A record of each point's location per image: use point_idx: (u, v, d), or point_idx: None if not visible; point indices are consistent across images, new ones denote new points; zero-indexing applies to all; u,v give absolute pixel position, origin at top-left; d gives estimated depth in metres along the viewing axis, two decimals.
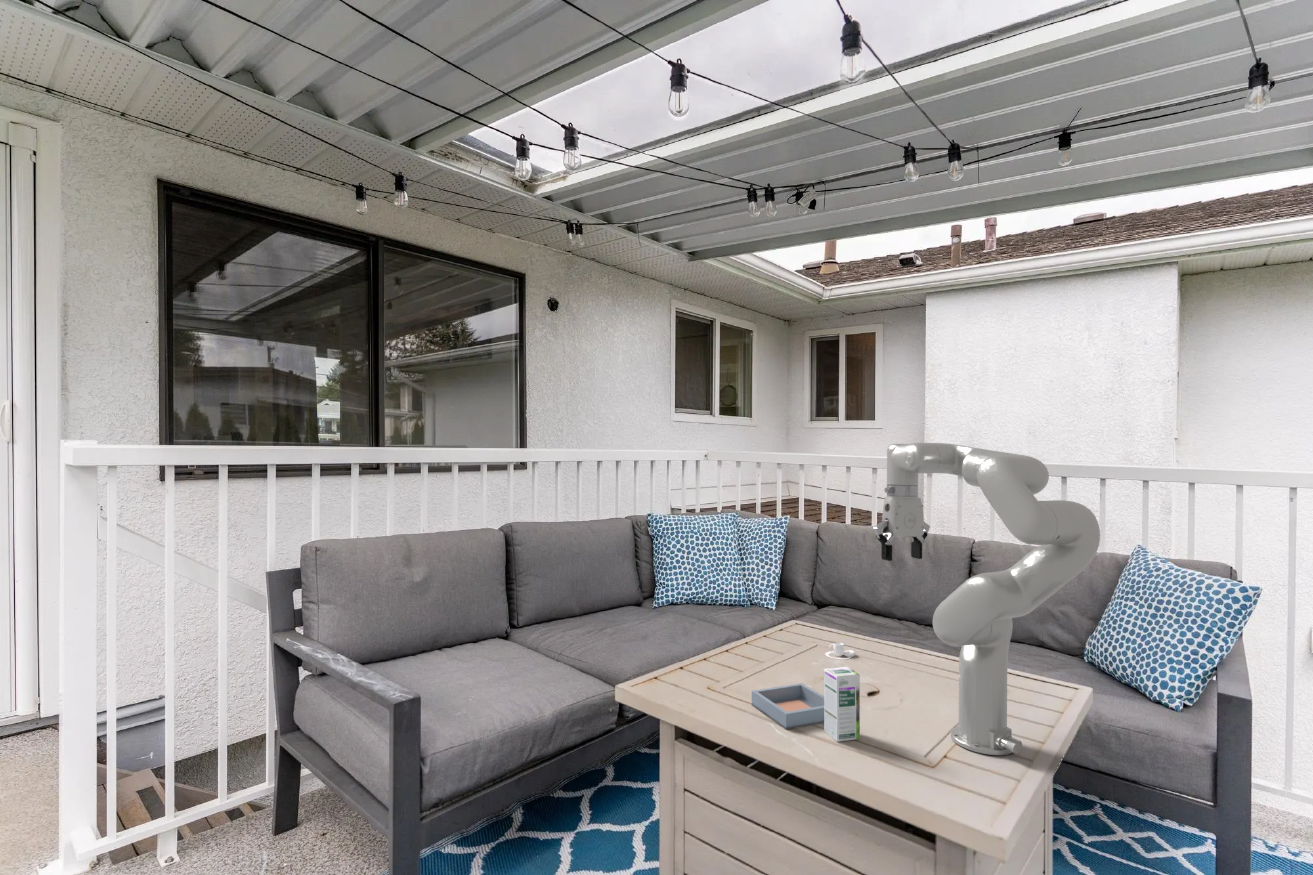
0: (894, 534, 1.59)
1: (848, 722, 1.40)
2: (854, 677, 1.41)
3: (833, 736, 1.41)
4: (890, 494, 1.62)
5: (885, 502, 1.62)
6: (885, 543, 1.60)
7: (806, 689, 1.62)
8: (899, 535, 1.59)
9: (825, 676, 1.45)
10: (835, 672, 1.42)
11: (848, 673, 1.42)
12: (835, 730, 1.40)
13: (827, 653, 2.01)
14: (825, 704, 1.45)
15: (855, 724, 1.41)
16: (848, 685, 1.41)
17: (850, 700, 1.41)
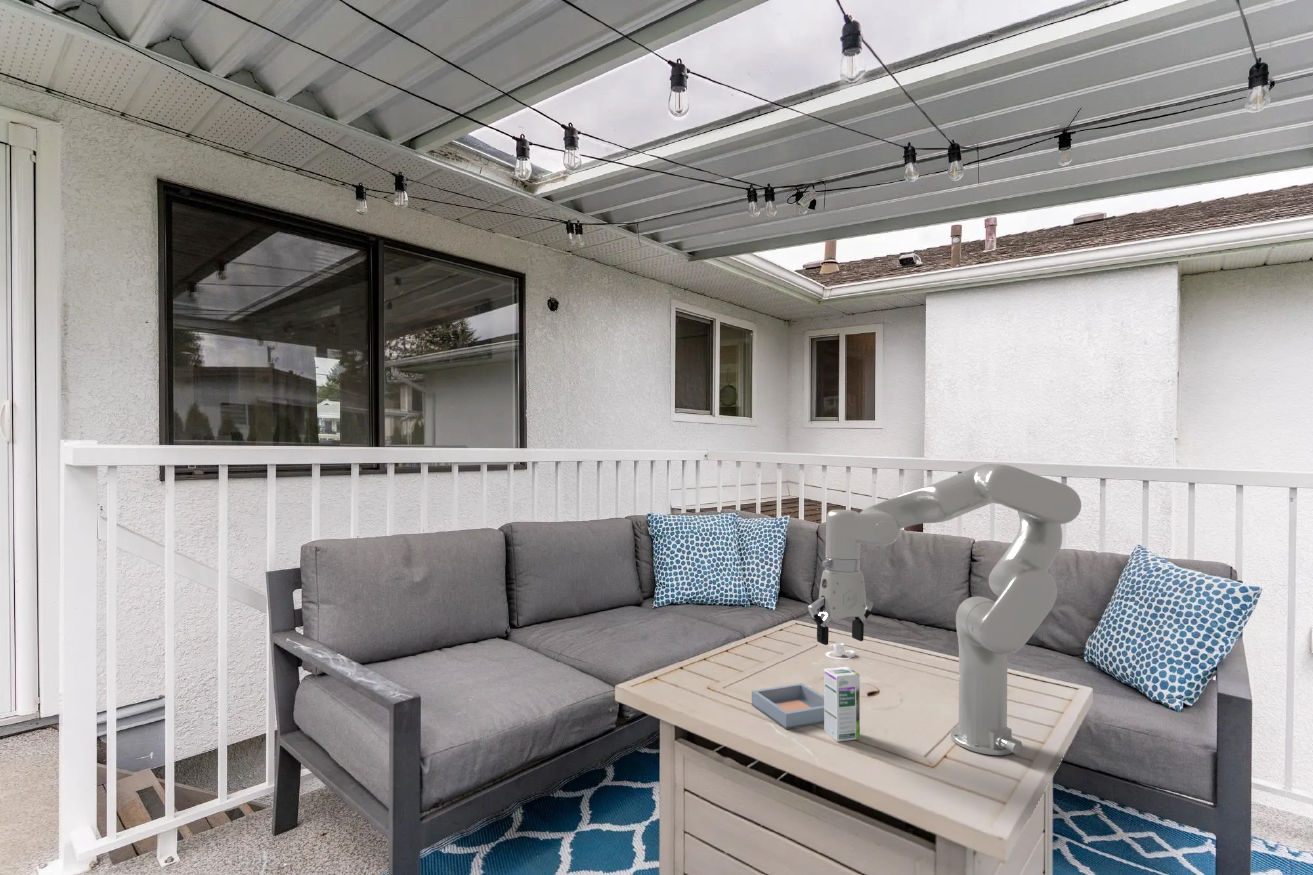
0: (831, 615, 1.40)
1: (848, 722, 1.40)
2: (854, 677, 1.41)
3: (833, 736, 1.41)
4: (828, 568, 1.42)
5: (822, 577, 1.43)
6: (821, 625, 1.40)
7: (806, 689, 1.62)
8: (836, 616, 1.40)
9: (825, 676, 1.45)
10: (835, 672, 1.42)
11: (848, 673, 1.42)
12: (835, 730, 1.40)
13: (827, 653, 2.01)
14: (825, 704, 1.45)
15: (855, 724, 1.41)
16: (848, 685, 1.41)
17: (849, 700, 1.41)
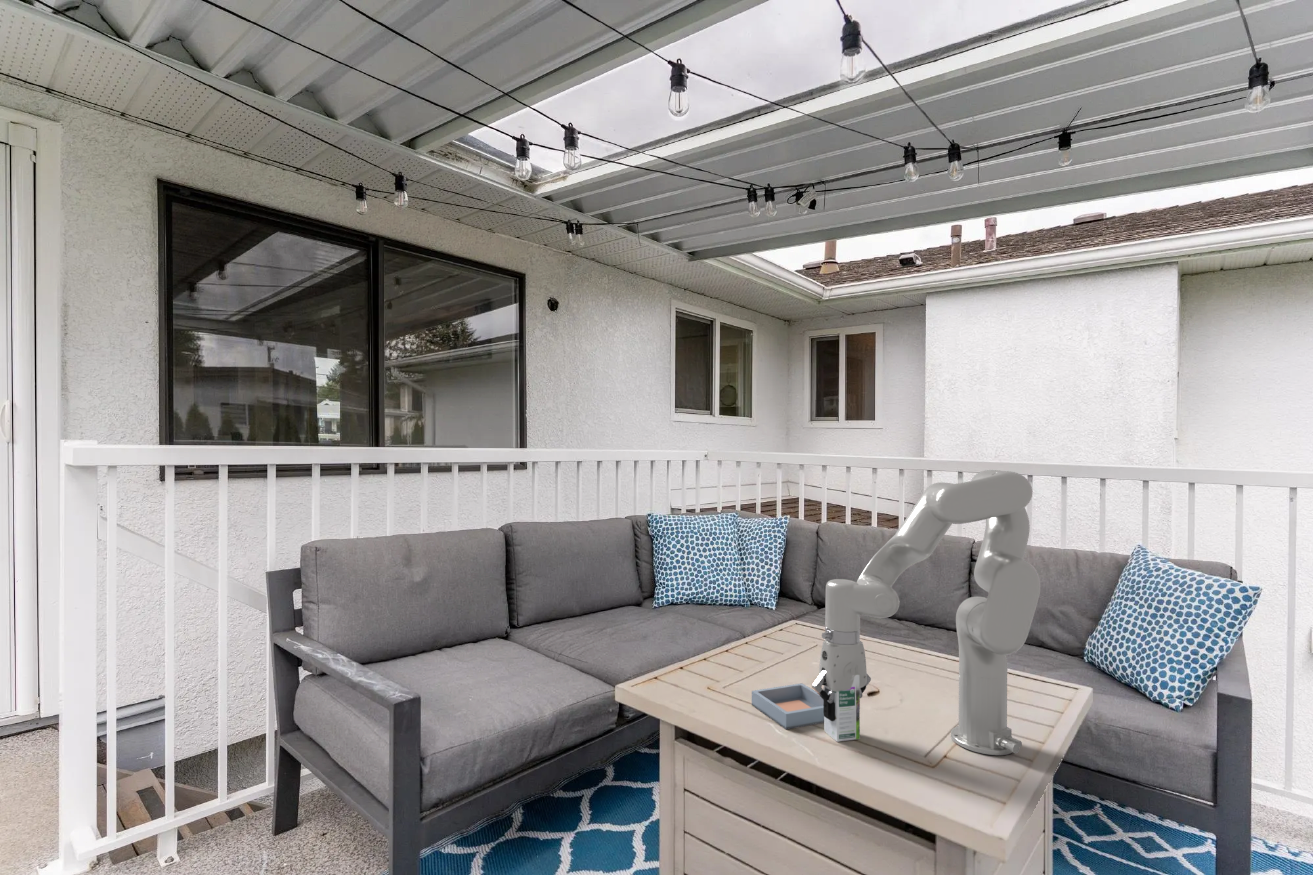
0: (832, 688, 1.39)
1: (848, 722, 1.40)
2: (854, 677, 1.41)
3: (833, 736, 1.41)
4: (828, 640, 1.42)
5: (823, 648, 1.43)
6: (827, 701, 1.41)
7: (806, 689, 1.62)
8: (837, 689, 1.39)
9: None
10: None
11: None
12: (835, 730, 1.40)
13: None
14: None
15: (855, 724, 1.41)
16: None
17: (849, 700, 1.41)
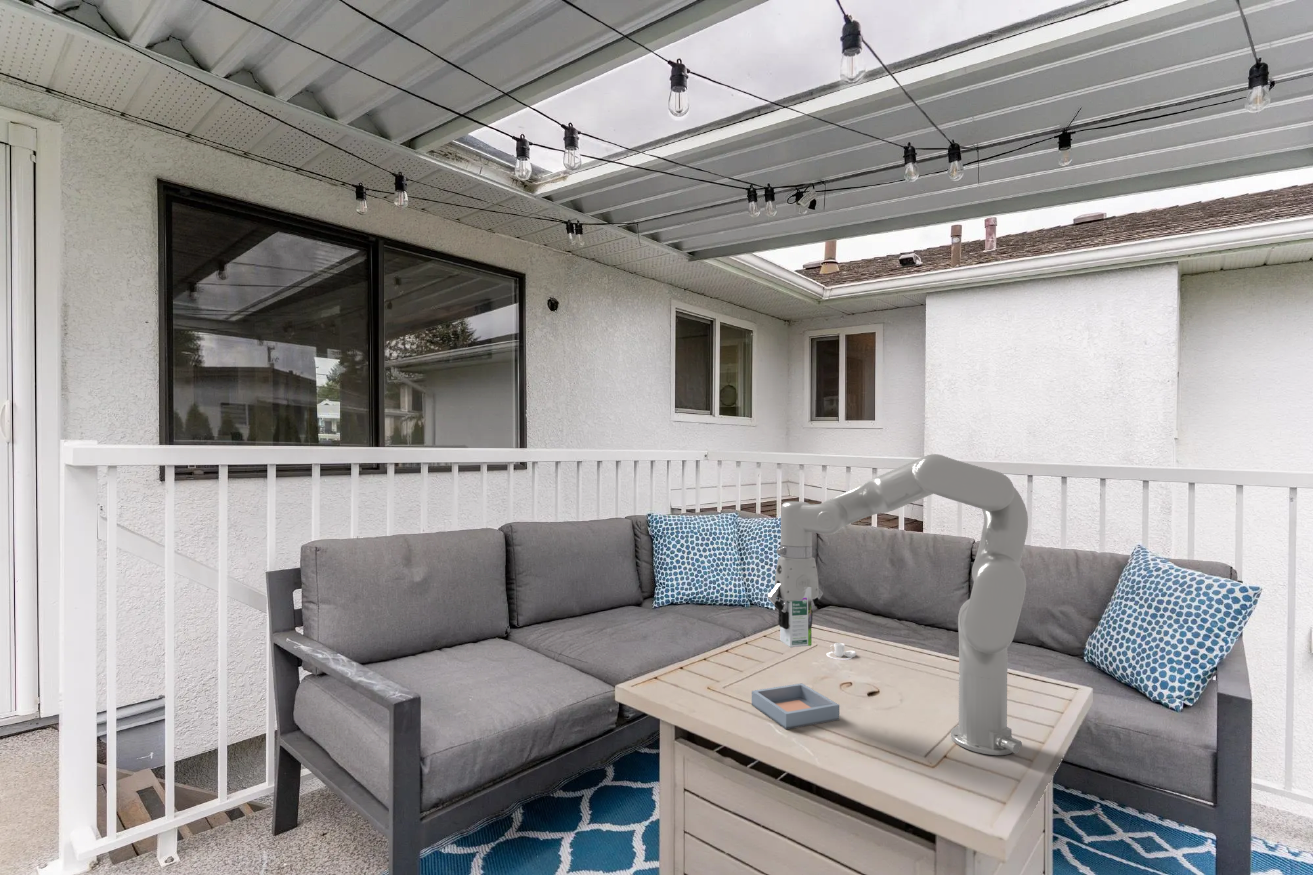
0: (785, 598, 1.52)
1: (801, 630, 1.53)
2: None
3: (787, 643, 1.54)
4: (783, 555, 1.55)
5: (778, 563, 1.55)
6: (782, 611, 1.53)
7: (806, 689, 1.62)
8: (790, 599, 1.52)
9: None
10: None
11: None
12: (789, 637, 1.53)
13: (828, 653, 2.01)
14: None
15: (807, 632, 1.53)
16: None
17: (802, 610, 1.53)
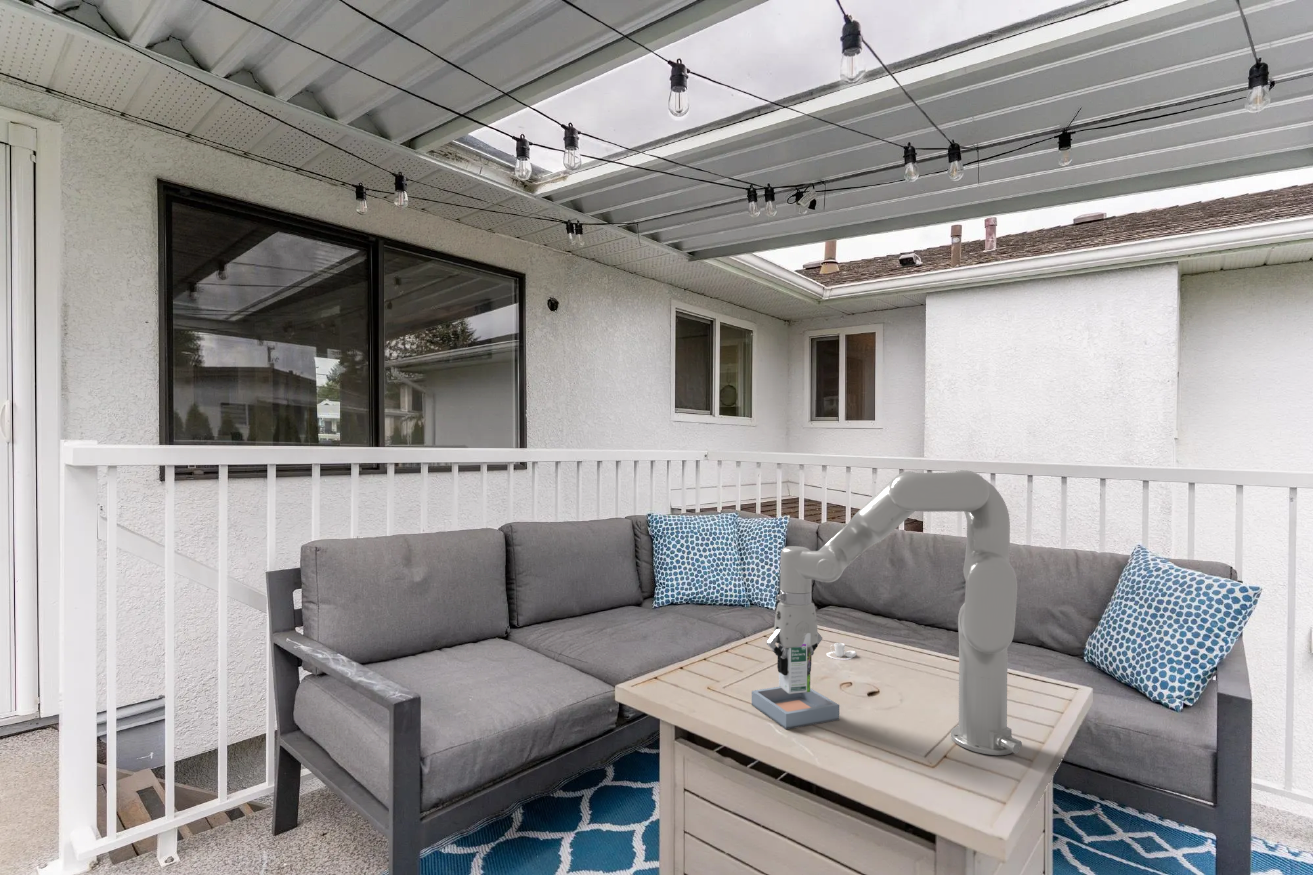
0: (784, 645, 1.52)
1: (799, 676, 1.53)
2: (806, 635, 1.54)
3: (786, 689, 1.54)
4: (782, 601, 1.55)
5: (777, 609, 1.55)
6: (781, 657, 1.53)
7: None
8: (789, 646, 1.52)
9: None
10: None
11: None
12: (788, 683, 1.53)
13: (828, 653, 2.01)
14: None
15: (806, 678, 1.53)
16: None
17: (801, 656, 1.53)
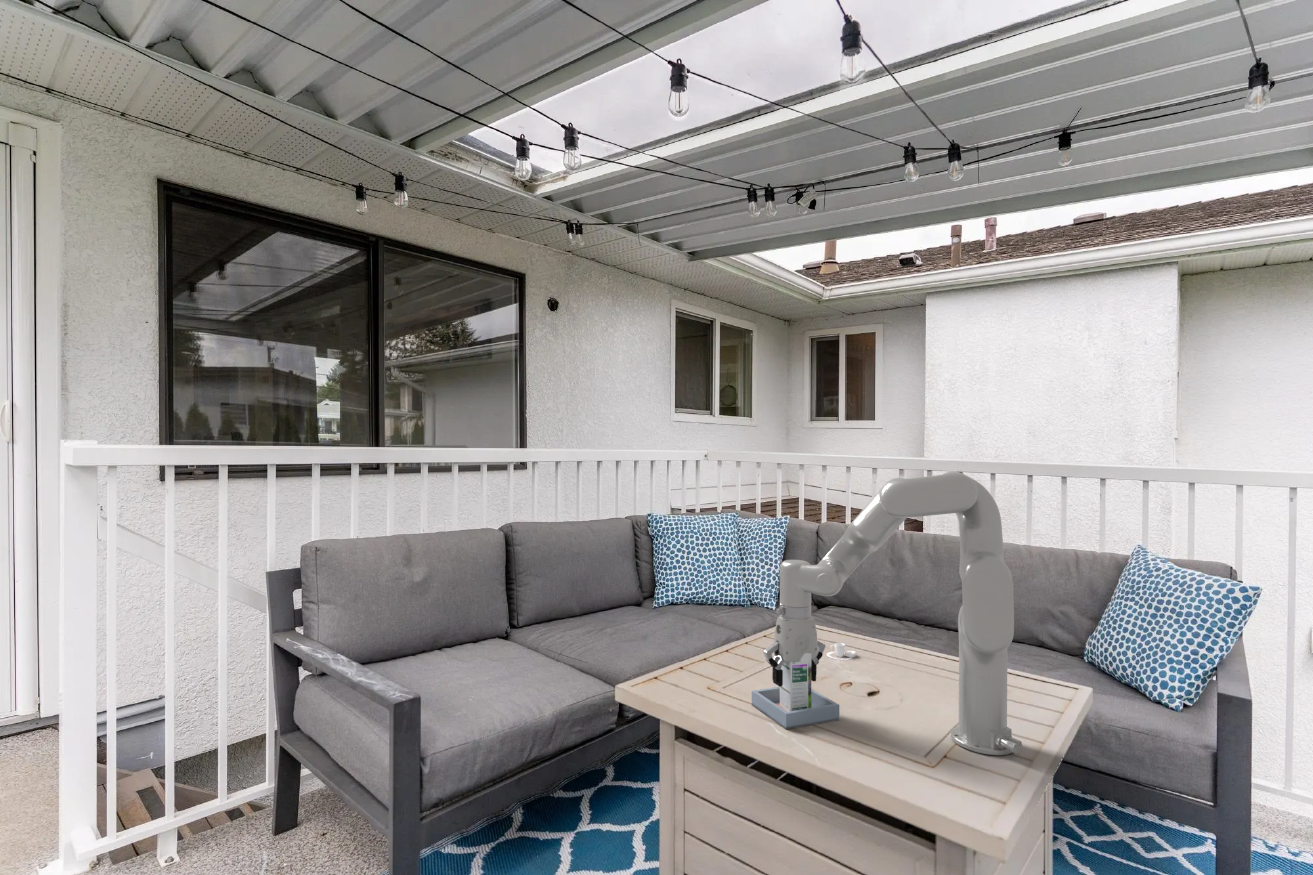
0: (784, 659, 1.52)
1: (801, 697, 1.53)
2: (807, 655, 1.54)
3: (787, 710, 1.53)
4: (782, 615, 1.55)
5: (777, 623, 1.55)
6: (775, 668, 1.53)
7: None
8: (789, 660, 1.52)
9: None
10: None
11: None
12: (789, 704, 1.52)
13: (828, 653, 2.01)
14: None
15: (807, 698, 1.53)
16: (800, 662, 1.53)
17: (802, 677, 1.53)
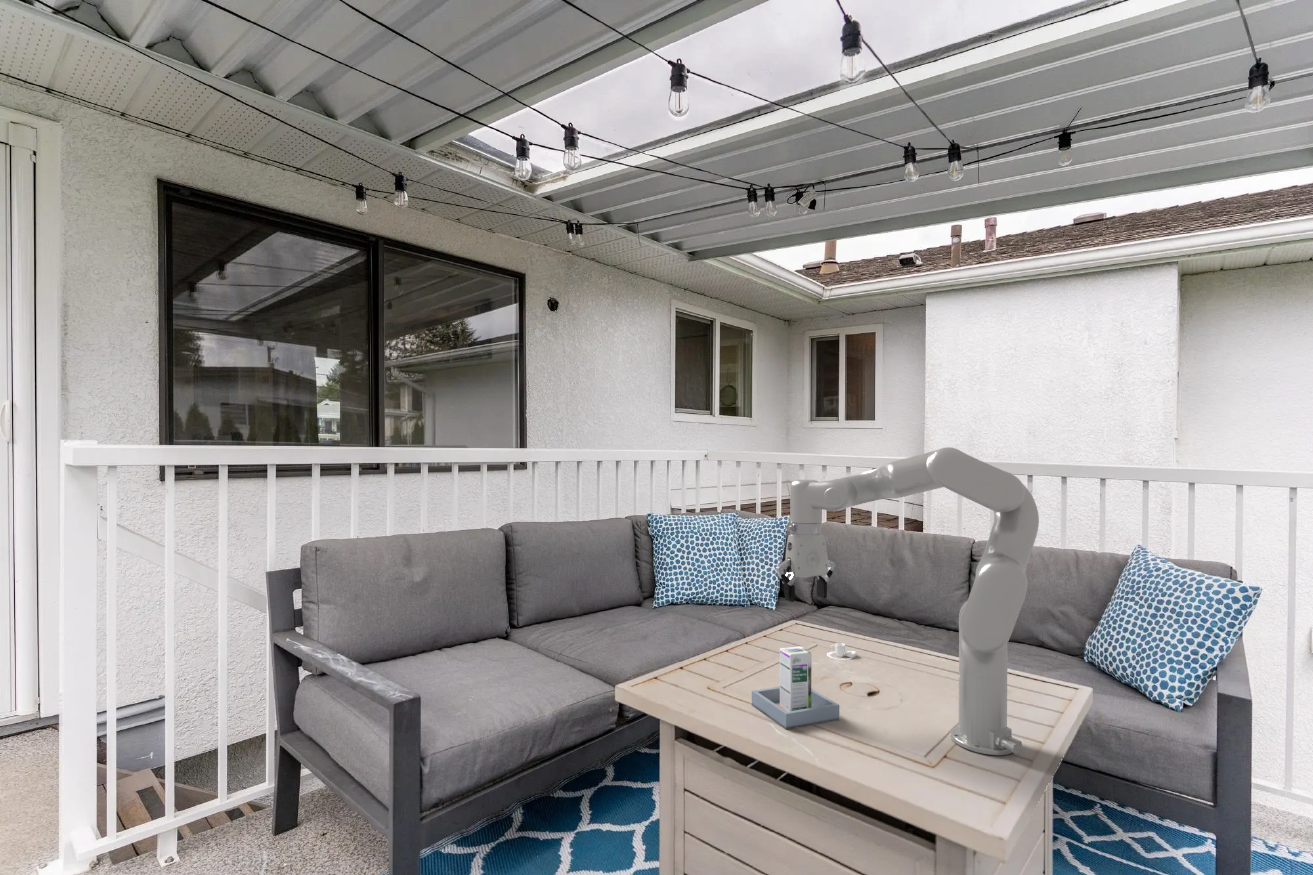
0: (796, 574, 1.54)
1: (801, 697, 1.53)
2: (807, 655, 1.54)
3: (787, 710, 1.53)
4: (793, 532, 1.57)
5: (788, 540, 1.58)
6: (787, 583, 1.55)
7: None
8: (801, 575, 1.54)
9: (780, 655, 1.57)
10: (789, 651, 1.54)
11: (801, 652, 1.54)
12: (789, 704, 1.52)
13: (829, 653, 2.01)
14: (780, 681, 1.57)
15: (807, 698, 1.53)
16: (800, 662, 1.53)
17: (802, 677, 1.53)
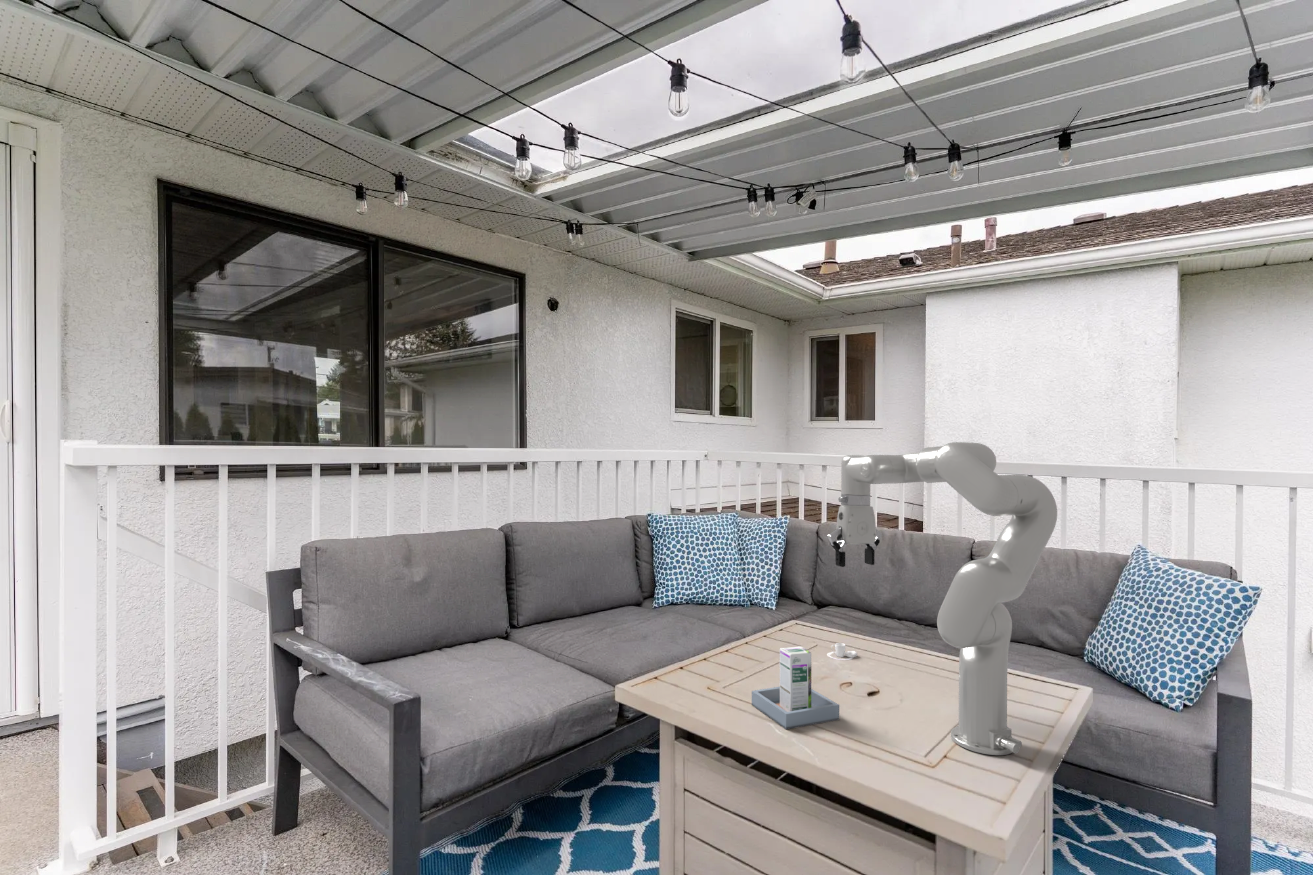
0: (847, 541, 1.67)
1: (801, 697, 1.53)
2: (807, 655, 1.54)
3: (787, 710, 1.53)
4: (844, 503, 1.70)
5: (839, 511, 1.71)
6: (838, 550, 1.68)
7: None
8: (852, 542, 1.67)
9: (780, 655, 1.57)
10: (789, 651, 1.54)
11: (801, 652, 1.54)
12: (789, 704, 1.52)
13: (829, 654, 2.01)
14: (780, 681, 1.57)
15: (807, 698, 1.53)
16: (800, 662, 1.53)
17: (802, 677, 1.53)
